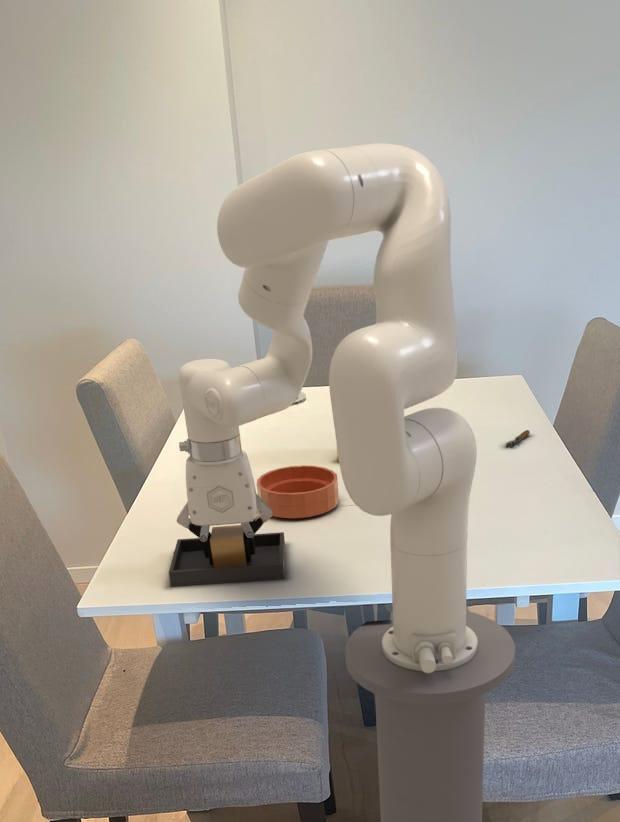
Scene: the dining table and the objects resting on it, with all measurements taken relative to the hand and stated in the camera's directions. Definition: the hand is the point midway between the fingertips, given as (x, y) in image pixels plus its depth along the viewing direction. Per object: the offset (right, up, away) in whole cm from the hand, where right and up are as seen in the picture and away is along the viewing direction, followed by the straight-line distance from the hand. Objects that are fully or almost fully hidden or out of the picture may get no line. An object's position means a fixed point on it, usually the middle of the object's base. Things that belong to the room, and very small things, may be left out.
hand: (230, 558), depth 145 cm
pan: (0, -1, +1) cm, 1 cm away
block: (0, 0, 0) cm, 0 cm away
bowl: (+10, +11, +21) cm, 26 cm away
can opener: (+53, +28, +45) cm, 75 cm away
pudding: (+2, +45, +81) cm, 93 cm away
